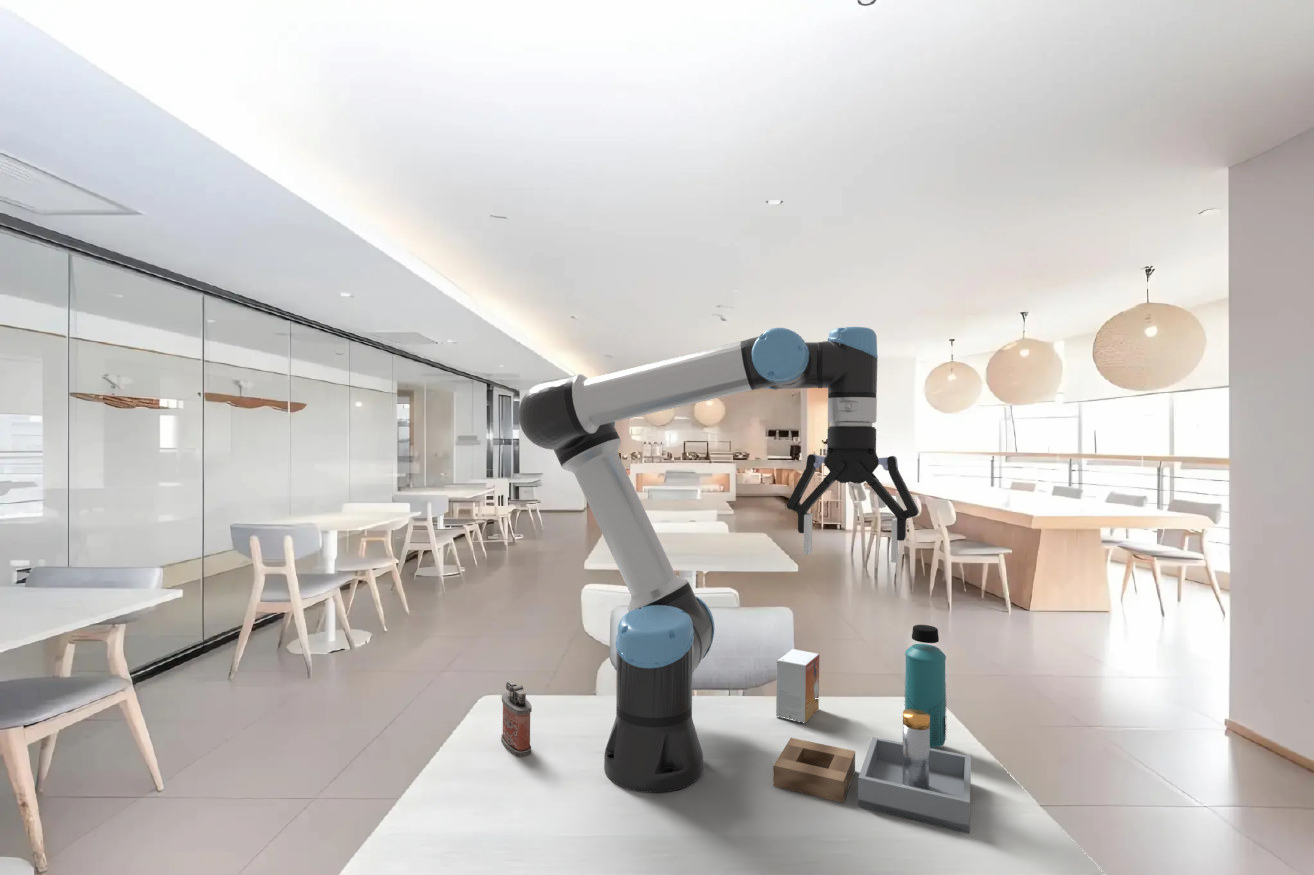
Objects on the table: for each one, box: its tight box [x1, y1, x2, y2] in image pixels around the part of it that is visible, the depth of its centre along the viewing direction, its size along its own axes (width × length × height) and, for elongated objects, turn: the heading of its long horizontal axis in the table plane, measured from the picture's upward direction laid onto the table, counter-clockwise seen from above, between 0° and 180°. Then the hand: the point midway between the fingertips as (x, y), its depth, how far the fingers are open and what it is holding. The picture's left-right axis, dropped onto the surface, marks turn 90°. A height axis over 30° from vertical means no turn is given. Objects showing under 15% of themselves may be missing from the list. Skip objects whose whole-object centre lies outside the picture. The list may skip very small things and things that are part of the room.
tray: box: [857, 736, 972, 834], centre depth 96 cm, size 14×14×4 cm
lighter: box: [500, 679, 533, 758], centre depth 110 cm, size 8×3×10 cm, turn 34°
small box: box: [775, 648, 820, 724], centre depth 124 cm, size 8×6×10 cm
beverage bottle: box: [903, 624, 948, 748], centre depth 111 cm, size 6×7×20 cm
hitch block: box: [772, 737, 856, 803], centre depth 101 cm, size 10×10×3 cm
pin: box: [902, 709, 931, 790], centre depth 96 cm, size 4×4×10 cm
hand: (850, 557), depth 108 cm, fingers open, 13 cm apart
